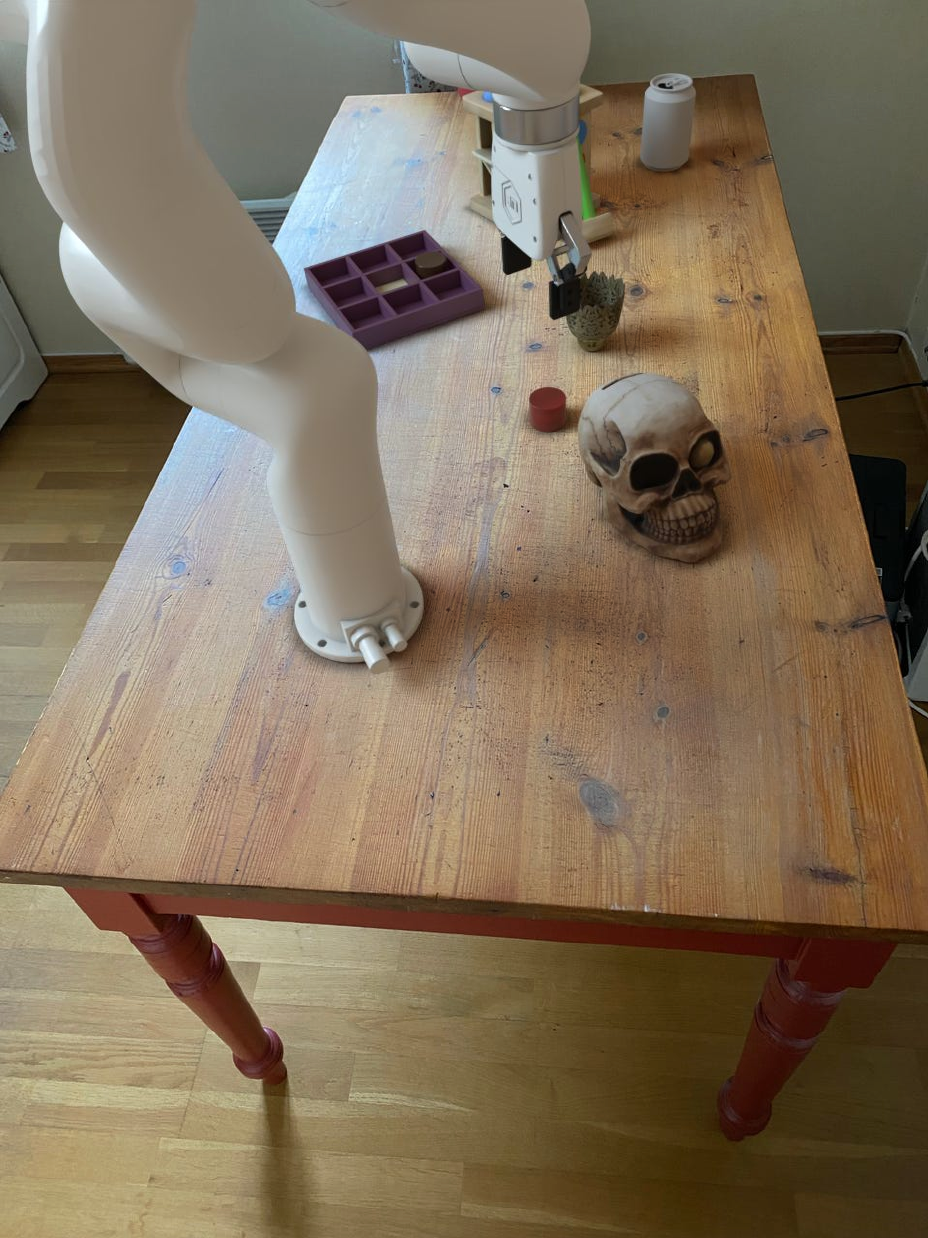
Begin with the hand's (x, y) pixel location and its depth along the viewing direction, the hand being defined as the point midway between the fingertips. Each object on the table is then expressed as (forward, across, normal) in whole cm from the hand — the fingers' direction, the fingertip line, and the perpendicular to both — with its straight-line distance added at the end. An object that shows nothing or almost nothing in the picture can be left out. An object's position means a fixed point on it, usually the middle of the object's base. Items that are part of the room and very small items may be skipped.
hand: (540, 291), depth 91 cm
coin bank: (+16, +18, +3) cm, 24 cm away
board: (+16, -33, -5) cm, 37 cm away
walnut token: (+16, -33, +1) cm, 37 cm away
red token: (+16, +1, 0) cm, 16 cm away
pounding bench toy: (+17, -40, +24) cm, 50 cm away
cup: (+16, -9, +12) cm, 22 cm away
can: (+17, -45, +47) cm, 67 cm away
